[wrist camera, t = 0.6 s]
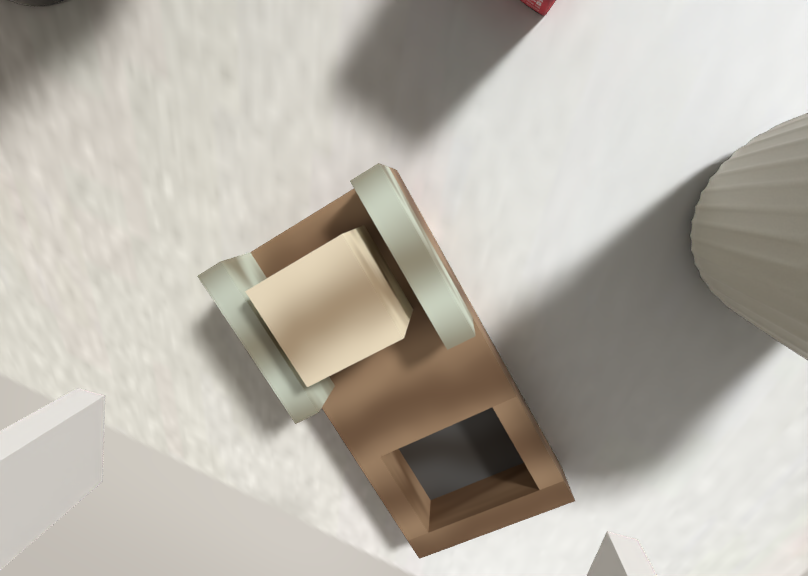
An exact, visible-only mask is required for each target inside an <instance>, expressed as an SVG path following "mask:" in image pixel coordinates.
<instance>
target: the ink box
mask: <svg viewBox="0 0 808 576" xmlns="http://www.w3.org/2000/svg"><path fill="white" fill-rule="evenodd" d="M521 1H522V2H523V3H524V4H526V5H527V6H529V7H530V8H532V9H533V10H535V11H536V12H538V13H539V14H541V15H546V14H547V12H548V11H549V9H550V8H551V7H552V5H553V4H554V2H555V1H556V0H521Z"/></svg>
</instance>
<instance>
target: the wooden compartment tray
mask: <svg viewBox="0 0 808 576" xmlns="http://www.w3.org/2000/svg"><path fill="white" fill-rule="evenodd" d="M350 182H351V184H352V185H353V187H354V189H353V190H351V191H349V192H348V193H346V194H344V195H343V196H341V197H340V198H338V199H336V200H335V201H333V202H331V203H330V204H328V205H327V206H325V207H323V208H322V209H320V210H318V211H317V212H315V213H314V214H312V215H310V216H309V217H307V218H305V219H304V220H302V221H301V222H299V223H297V224H296V225H294V226H292V227H291V228H289V229H288V230H286V231H284V232H283V233H281V234H279V235H278V236H276V237H275V238H273V239H271V240H270V241H268V242H266V243H265V244H263V245H262V246H260V247H258V248H257V249H255V250H254V251H252V252H250V253H247V254H244V255H240V256H237V257H234V258H231V259H227V260H224V261H221V262H219V263H218V264H216V265H214V266H213V267H211V268H210V269H208V270H206V271H205V272H203V273H201V274H200V275H198V278H199V279H200V281H201V282H202V284H203V285H204V287H205V288H206V290H207V291H208V293H209V294H210V296H211V297H212V299H213V300H214V302H215V303H216V305H217V306H218V308H219V309H220V311H221V313H222V314H223V316H224V317H225V319H226V320H227V322H228V323H229V325H230V326H231V328H232V329H233V331H234V332H235V334H236V335H237V337H238V338H239V340H240V341H241V343H242V344H243V346H244V347H245V349H246V350H247V352H248V353H249V355H250V356H251V358H252V359H253V361H254V362H255V364H256V365H257V367H258V368H259V370H260V371H261V373H262V374H263V376H264V377H265V379H266V380H267V382H268V383H269V385H270V386H271V388H272V389H273V391H274V392H275V394H276V395H277V397H278V398H279V400H280V401H281V403H282V404H283V406H284V407H285V409H286V411H287V412H288V414H289V415H290V417H291V418H292V420H293V421H294V423H295V424H296V423H298V422H301V421H303V420H305V419H307V418H309V417H311V416H313V415H315V414H317V413H319V411H320V410H321V408H322V409H323V410H324V412H325V414H326V415H327V417H328V418H329V420H330V421H331V423H332V424H333V426H334V427H335V429H336V431H337V432H338V434H339V435H340V437H341V438H342V440H343V441H344V443H345V444H346V446H347V448H348V449H349V451H350V452H351V454H352V455H353V457H354V458H355V460H356V462H357V463H358V465H359V466H360V468H361V469H362V471H363V472H364V474H365V475H366V477H367V479H368V480H369V482H370V483H371V485H372V486H373V488H374V489H375V491H376V492H377V494H378V496H379V497H380V499H381V500H382V502H383V503H384V505H385V506H386V508H387V509H388V511H389V513H390V514H391V516H392V517H393V519H394V520H395V522H396V523H397V525H398V526H399V528H400V530H401V531H402V533H403V534H404V536H405V537H406V539H407V540H408V542H409V543H410V545H411V547H412V548H413V550H414V551H415V553H416V554H417V556H418V557H419V559H420V558H422V557H425V556H428V555H431V554H433V553H436V552H439V551H441V550H444V549H447V548H449V547H452V546H455V545H458V544H460V543H463V542H466V541H468V540H471V539H474V538H476V537H479V536H482V535H485V534H487V533H490V532H493V531H495V530H498V529H501V528H503V527H506V526H509V525H512V524H514V523H517V522H520V521H522V520H525V519H528V518H530V517H533V516H536V515H539V514H541V513H544V512H547V511H549V510H552V509H555V508H557V507H560V506H563V505H566V504H568V503H571V502H574V501H575V500H574V497H573V495H572V492H571V489H570V487H569V484H568V482H567V479H566V477H565V474H564V472H563V469H562V467H561V465H560V463H559V462H558V460H557V458H556V456H555V454H554V453H553V451H552V449H551V447H550V445H549V444H548V442H547V440H546V438H545V436H544V435H543V433H542V431H541V429H540V427H539V426H538V424H537V422H536V420H535V418H534V417H533V415H532V413H531V411H530V409H529V408H528V406H527V404H526V402H525V400H524V399H523V397H522V395H521V393H520V391H519V390H518V388H517V386H516V384H515V382H514V381H513V379H512V377H511V375H510V373H509V372H508V370H507V368H506V366H505V364H504V362H503V361H502V359H501V357H500V355H499V353H498V352H497V350H496V348H495V346H494V344H493V343H492V341H491V339H490V337H489V335H488V334H487V332H486V330H485V328H484V326H483V325H482V323H481V321H480V319H479V317H478V316H477V314H476V312H475V310H474V308H473V307H472V305H471V303H470V301H469V299H468V298H467V296H466V294H465V292H464V290H463V289H462V287H461V285H460V283H459V281H458V280H457V278H456V276H455V274H454V272H453V271H452V269H451V267H450V265H449V263H448V262H447V260H446V258H445V256H444V254H443V253H442V251H441V249H440V247H439V245H438V244H437V242H436V240H435V238H434V236H433V235H432V233H431V231H430V229H429V227H428V226H427V224H426V222H425V220H424V218H423V217H422V215H421V213H420V211H419V209H418V208H417V206H416V204H415V202H414V200H413V199H412V197H411V195H410V193H409V191H408V190H407V188H406V186H405V184H404V182H403V181H402V179H401V177H400V175H399V173H398V172H397V170H395V169H393V168H390V167H387V166H385V165H382V164H379V163H378V164H377V165H375V166H373V167H372V168H370V169H369V170H367V171H365V172H364V173H362V174H361V175H359V176H357V177H356V178H354V179H353V180H351V181H350ZM363 225H364V226H365V227H366V229H367V231H368V232H369V234H370V236H371V238H372V239H373V241H374V243H375V244H376V246H377V248H378V250H379V251H380V253H381V255H382V257H383V258H384V260H385V262H386V263H387V265H388V267H389V269H390V270H391V272H392V274H393V275H394V277H395V279H396V281H397V282H398V284H399V286H400V287H401V289H402V291H403V293H404V294H405V296H406V298H407V300H408V301H409V303H410V305H411V306H412V308H413V312H412V315H411V318H410V321H409V324H408V327H407V330H406V334H405V337H404V339H402V340H400V341H398V342H396V343H394V344H392V345H390V346H388V347H386V348H384V349H382V350H380V351H378V352H376V353H374V354H372V355H370V356H368V357H366V358H364V359H362V360H360V361H358V362H356V363H354V364H352V365H350V366H348V367H346V368H344V369H343V370H341V371H339V372H337V373H335V374H333V375H331V376H329V377H327V378H325V379H323V380H321V381H319V382H317V383H315V384H313V385H311V386H309V387H307V386H306V385H305V383H304V382H303V380H302V379H301V377H300V375H299V374H298V372H297V371H296V369H295V368H294V366H293V365H292V363H291V362H290V360H289V358H288V357H287V355H286V354H285V352H284V351H283V349H282V348H281V346H280V345H279V343H278V341H277V340H276V338H275V337H274V335H273V334H272V332H271V331H270V329H269V328H268V326H267V324H266V323H265V321H264V320H263V318H262V317H261V315H260V314H259V312H258V311H257V309H256V307H255V306H254V304H253V303H252V301H251V300H250V298H249V297H248V295H247V294H246V292H245V291H247V290H248V289H250V288H252V287H253V286H255V285H257V284H258V283H260V282H262V281H263V280H265V279H267V278H269V277H270V276H272V275H274V274H275V273H277V272H279V271H280V270H282V269H284V268H285V267H287V266H289V265H290V264H292V263H294V262H296V261H297V260H299V259H301V258H302V257H304V256H306V255H307V254H309V253H311V252H312V251H314V250H316V249H318V248H319V247H321V246H323V245H324V244H326V243H328V242H329V241H331V240H333V239H334V238H336V237H338V236H339V235H341V234H343V233H346V232H348V231H351V230H353V229H356V228H358V227H361V226H363Z"/></svg>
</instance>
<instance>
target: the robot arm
mask: <svg viewBox="0 0 808 576" xmlns="http://www.w3.org/2000/svg"><path fill="white" fill-rule="evenodd" d="M9 1H12V2H15V3H19V4H23V5H31V6H43V5H50V4H54V3H58V2H61V1H63V0H9ZM104 415H105V395H102V394H98V393H94V392H91V391H87V390H83V389H79V388H76V389H75V390H73V391H71V392H69V393H67V394H66V395H64V396H62V397H60V398H58V399H57V400H55V401H53V402H51V403H49V404H48V405H46V406H44V407H42V408H40V409H39V410H37V411H35V412H33V413H32V414H30V415H28V416H26V417H24V418H23V419H21V420H19V421H17V422H15V423H14V424H12V425H10V426H8V427H6V428H5V429H3V430H1V431H0V570H1V569H3V568H4V567H5V566H6V565H7V564H8V563H9V562H11V561H12V560H13V559H14V558H15V557H16V556H18V555H19V554H20V553H21V552H22V551H23V550H24V549H26V548H27V547H28V546H29V545H30V544H31V543H32V542H33V541H35V540H36V539H37V538H38V537H39V536H40V535H42V534H43V533H44V532H45V531H46V530H47V529H49V528H50V527H51V526H52V525H53V524H54V523H55V522H57V521H58V520H59V519H60V518H61V517H62V516H64V515H65V514H66V513H67V512H68V511H69V510H70V509H72V508H73V507H74V506H75V505H76V504H77V503H78V502H80V501H81V500H82V499H83V498H84V497H85V496H87V495H88V494H89V493H90V492H91V491H92V490H93V489H95V488H96V487H97V486H98V485H99V484H100V483H101V482H102V480H103V447H104ZM587 576H657V574H656V572H655V570H654V569H653V567H652V565H651V563H650V561H649V559H648V557H647V555H646V553H645V552H644V550H643V548H642V546H641V544H640V542H639V540H638V539H634V538H630V537H627V536H623V535H619V534H616V533H612V532H608V531H607V533H606V535H605V537H604V539H603V541H602V543H601V546H600V548H599V550H598V552H597V554H596V556H595V559H594V561H593V563H592V565H591V567H590V569H589V572H588V574H587Z"/></svg>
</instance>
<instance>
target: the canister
mask: <svg viewBox="0 0 808 576" xmlns="http://www.w3.org/2000/svg"><path fill="white" fill-rule="evenodd" d="M691 223H692V230H691V234H690V238H691V241H692V247H691V252H692V253H693V255H694V263H695V266H696V267H697V268H698V269H699V271H700V276H701V278H702V280H703V281H704V282H705V283H706V284H707V285H708V288H709V289H710V291H711V292H712V293H713V294H714V295H715V296H717V297H718V298H719V299H720V300H721V302H723V303H724V304H725V305H726V306H727V307H728V308H730V309H731V310H732V311H734V312H735V313H737V314H738V315H740V316H741V317H743V318H744V319H746V320H747V321H748V322H750V323H751V324H753V325H754V326H756V327H757V328H759V329H760V330H762V331H763V332H765V333H766V334H768V335H769V336H771V337H772V338H774V339H775V340H777V341H778V342H780V343H781V344H783V345H785V346H786V347H788V348H789V349H791V350H792V351H794V352H795V353H797V354H798V355H800V356H802V357H803V358H805V359H806V360H808V113H806V114H804V115H801V116H798V117H796V118H793V119H791V120H788V121H786V122H783V123H781V124H779V125H777V126H775V127H773V128H771V129H770V130H768V131H767V132H764V133H762V134H760V135H758V136H756V137H754V138H753V139H752V140H750V141H749V142H748V143H747V144H746V145H745V146H743V147H741V148H739V149H738V150H736V151H735V152H734V153H733V154H732V156H731V157H730V158H729V159H728V160H727V161H725V162H723V163H722V164H721V165H720V167H719V169H718V171H717V172H716V173H715V174H714V175H713V176H712V177H711V178H710V179H709V182H708V184H707V186H706V188H705V189H704V190H703V191H702V192H701V196H700V199H699V201H698V203H697V205H696V206H695V214H694V217H693V219H692V221H691Z"/></svg>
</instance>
